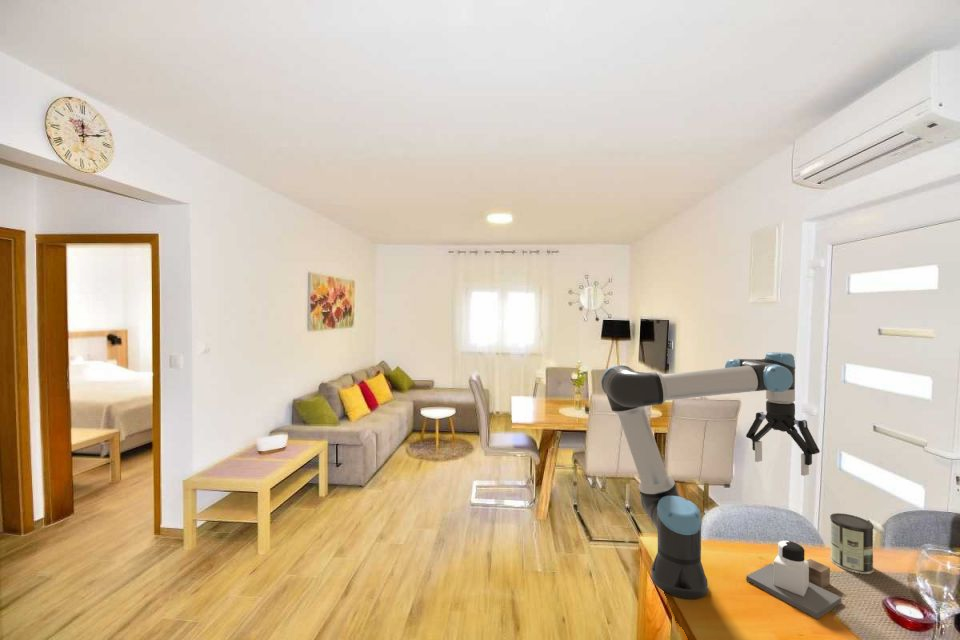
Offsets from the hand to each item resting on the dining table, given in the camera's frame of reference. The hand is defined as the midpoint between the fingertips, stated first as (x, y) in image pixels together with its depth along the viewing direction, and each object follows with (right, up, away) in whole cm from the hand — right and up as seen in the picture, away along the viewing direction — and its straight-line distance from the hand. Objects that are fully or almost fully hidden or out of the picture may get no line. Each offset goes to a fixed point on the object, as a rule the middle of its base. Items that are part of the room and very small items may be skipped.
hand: (780, 467), depth 133 cm
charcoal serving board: (-6, -31, -13) cm, 34 cm away
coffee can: (+22, -31, -1) cm, 38 cm away
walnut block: (+4, -31, -9) cm, 32 cm away
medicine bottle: (-7, -30, -13) cm, 33 cm away
